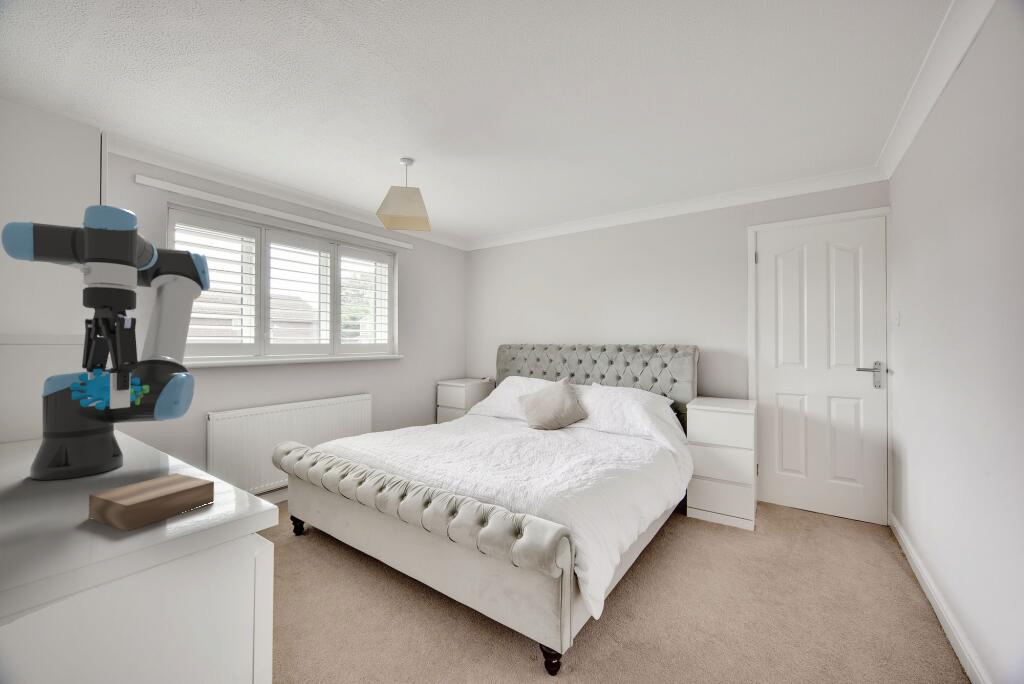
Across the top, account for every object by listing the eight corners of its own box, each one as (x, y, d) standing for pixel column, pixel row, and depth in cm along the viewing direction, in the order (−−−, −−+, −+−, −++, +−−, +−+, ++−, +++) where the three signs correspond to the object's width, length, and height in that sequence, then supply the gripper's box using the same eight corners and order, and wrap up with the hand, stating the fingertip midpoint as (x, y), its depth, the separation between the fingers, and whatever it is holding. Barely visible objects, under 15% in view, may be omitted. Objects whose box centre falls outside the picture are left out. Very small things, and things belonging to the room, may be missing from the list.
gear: (60, 403, 75) (79, 362, 81) (62, 423, 78) (80, 383, 84) (142, 406, 81) (154, 368, 87) (141, 425, 84) (152, 387, 90)
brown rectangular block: (88, 518, 72) (89, 494, 72) (176, 493, 83) (176, 473, 83) (126, 531, 67) (126, 505, 67) (213, 503, 78) (213, 481, 79)
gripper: (59, 289, 83) (57, 406, 82) (112, 281, 74) (110, 412, 73) (109, 294, 90) (107, 401, 89) (162, 287, 81) (161, 407, 80)
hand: (108, 406), depth 81 cm, fingers closed on gear, 8 cm apart
